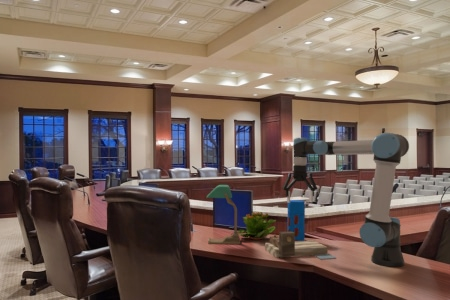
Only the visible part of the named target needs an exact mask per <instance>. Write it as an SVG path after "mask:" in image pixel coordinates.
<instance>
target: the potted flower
mask: <svg viewBox="0 0 450 300" xmlns="http://www.w3.org/2000/svg"><path fill="white" fill-rule="evenodd" d="M267 217H269V213H265V214H264V213H263V212H252V213H251V214H250V213H248V214H246V215H245V216H242V219H243V223H244V224H245V228H246V230H244V229H239V230H237V232H238V233H239V234H238V235H239V236H241V237H242V238H248V239H250V240H256V241H257V240H258V241H259V240H264V239H265V237H267V236H269V235H270V234H271V233H272V232H274V231H275V229H276V226H274V225H273V226H271V225H272V224H273V223H276V219H272V218H271V219H269V220H268V221H267Z"/></svg>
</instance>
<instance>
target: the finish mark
mask: <svg viewBox="0 0 450 300" xmlns="http://www.w3.org/2000/svg"><path fill="white" fill-rule="evenodd" d="M313 256H314V257H315V256H316V257H315V258H318V259H319V260H332V259H335V260H336V259H337V257H336V256H334V255H332V254H330V253H328V254H320V255H313Z"/></svg>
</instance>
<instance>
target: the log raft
mask: <svg viewBox="0 0 450 300" xmlns="http://www.w3.org/2000/svg"><path fill="white" fill-rule="evenodd" d="M264 247H265V248H264V250H265V251H266V252H268V253H269V254H270V255H272V256H273V257H274V258H277V259H278V258H279V257H280V258H292V257H291V256H296V257H307V256H308V257H310V256H309V255H312V256H314V255H320V254H329V253H328V250H329V249H328V246H326V245H324V244H321V243H319V242H318V241H315V240H304V241H295V255H291V256H281V255H280V254H279V248H277V247H275V246H274V245H272V244H271V243H270V242H265V245H264ZM280 258H279V259H280Z"/></svg>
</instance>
